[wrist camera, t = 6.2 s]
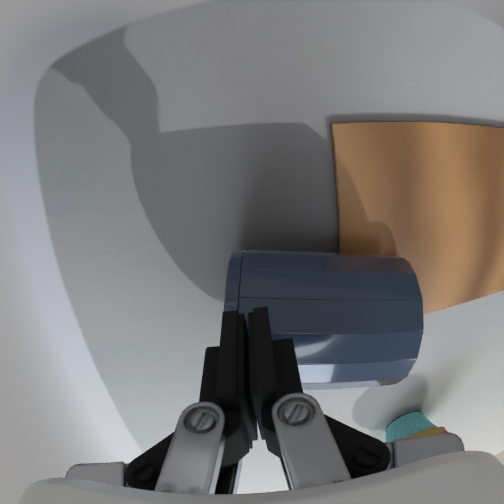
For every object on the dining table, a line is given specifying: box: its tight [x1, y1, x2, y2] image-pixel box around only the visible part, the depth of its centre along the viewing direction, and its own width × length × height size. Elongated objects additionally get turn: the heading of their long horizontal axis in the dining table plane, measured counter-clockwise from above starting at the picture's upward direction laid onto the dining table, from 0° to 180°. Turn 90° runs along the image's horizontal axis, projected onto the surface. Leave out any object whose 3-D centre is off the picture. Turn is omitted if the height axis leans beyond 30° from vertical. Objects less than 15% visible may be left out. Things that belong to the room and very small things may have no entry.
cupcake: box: [386, 412, 449, 442], centre depth 23 cm, size 9×8×12 cm
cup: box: [224, 249, 423, 390], centre depth 16 cm, size 7×7×9 cm
